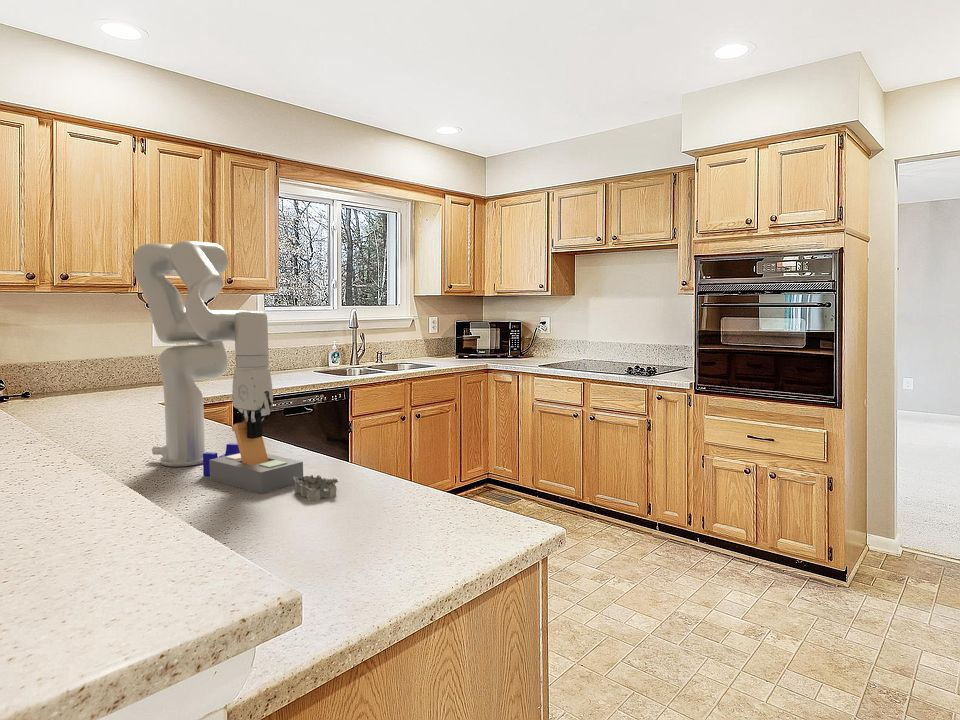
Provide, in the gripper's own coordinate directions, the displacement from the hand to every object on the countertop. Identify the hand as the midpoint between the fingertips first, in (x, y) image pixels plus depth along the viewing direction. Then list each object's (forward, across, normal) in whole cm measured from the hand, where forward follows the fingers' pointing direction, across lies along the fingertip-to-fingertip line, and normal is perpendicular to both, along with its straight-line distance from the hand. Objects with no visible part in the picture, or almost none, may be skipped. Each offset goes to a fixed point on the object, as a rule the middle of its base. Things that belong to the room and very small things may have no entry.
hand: (254, 437), depth 153 cm
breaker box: (+11, 0, 0) cm, 11 cm away
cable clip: (+11, -16, +1) cm, 19 cm away
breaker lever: (+8, +1, 0) cm, 8 cm away
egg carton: (+12, +20, +1) cm, 23 cm away
